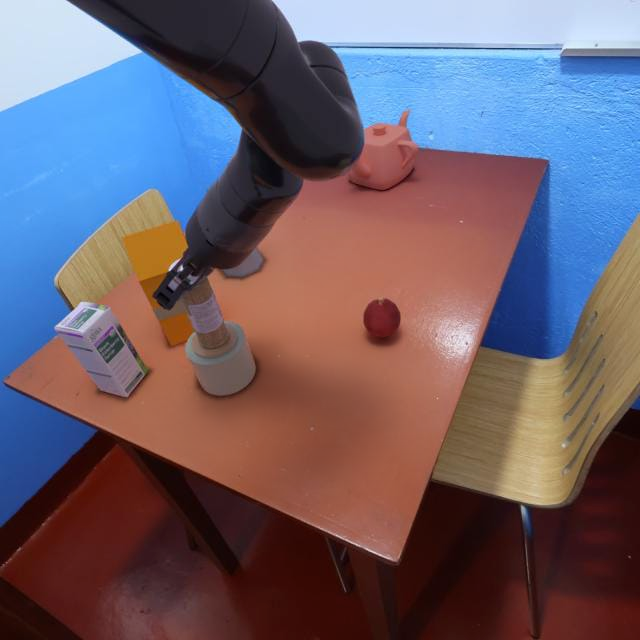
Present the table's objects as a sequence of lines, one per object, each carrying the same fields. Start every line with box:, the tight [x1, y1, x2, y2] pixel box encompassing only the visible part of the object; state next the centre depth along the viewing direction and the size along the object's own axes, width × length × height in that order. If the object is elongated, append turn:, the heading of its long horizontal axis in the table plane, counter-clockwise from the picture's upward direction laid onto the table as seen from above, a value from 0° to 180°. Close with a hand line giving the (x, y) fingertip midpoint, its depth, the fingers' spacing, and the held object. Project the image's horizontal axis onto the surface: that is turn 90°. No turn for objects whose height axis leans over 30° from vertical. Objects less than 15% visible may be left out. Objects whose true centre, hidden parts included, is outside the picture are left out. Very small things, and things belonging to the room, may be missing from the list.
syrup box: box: [53, 301, 149, 398], centre depth 71 cm, size 6×6×14 cm
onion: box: [362, 297, 402, 338], centre depth 73 cm, size 6×6×8 cm
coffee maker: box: [205, 188, 264, 279], centre depth 90 cm, size 15×9×18 cm, turn 31°
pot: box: [347, 109, 420, 191], centre depth 111 cm, size 18×17×12 cm
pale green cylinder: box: [184, 320, 257, 397], centre depth 72 cm, size 9×9×8 cm
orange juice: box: [121, 219, 195, 347], centre depth 77 cm, size 8×9×20 cm
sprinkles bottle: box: [168, 259, 229, 349], centre depth 64 cm, size 5×5×14 cm
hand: (184, 283), depth 63 cm, fingers open, 8 cm apart
